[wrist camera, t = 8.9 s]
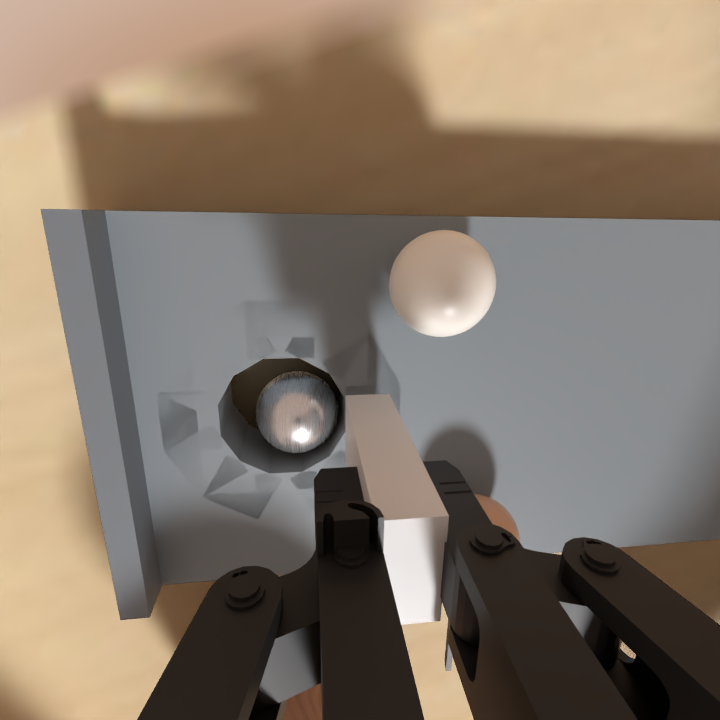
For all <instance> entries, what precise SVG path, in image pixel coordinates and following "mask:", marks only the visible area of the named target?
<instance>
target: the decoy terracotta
mask: <svg viewBox="0 0 720 720" xmlns="http://www.w3.org/2000/svg"><path fill="white" fill-rule="evenodd" d="M474 495H475V497H476V498H477V500H478V501H479V503H480V505H481V506H482V508H483V509H484V511H485V513H486V514H487V516H488V518H489V519H490V521H491V522H492V524H493V525H496V526H500V527H502V528H504V529H505V530H507V531H509V532H511V533H512V534H513V535H514V536H515V537H516V538H517V539H518V541H519V542H520V535H519V531H518V528H517V525H516V523H515V521H514V519H513V517H512V516H511V514H510V513H509V512H508V510H507V509H506V508H505V507H504V506H502V505H501V504H500V503H499V502H497V501H496V500H494V499H492V498H490V497H488V496H485V495H481V494H474Z"/></svg>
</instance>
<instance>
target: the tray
mask: <svg viewBox="0 0 720 720" xmlns="http://www.w3.org/2000/svg"><path fill="white" fill-rule="evenodd" d="M41 214H42V219H43V224H44V229H45V234H46V239H47V245H48V250H49V255H50V260H51V265H52V270H53V275H54V281H55V286H56V291H57V296H58V301H59V306H60V311H61V317H62V322H63V327H64V332H65V337H66V342H67V347H68V353H69V358H70V363H71V368H72V373H73V378H74V383H75V389H76V394H77V399H78V404H79V409H80V414H81V420H82V425H83V430H84V435H85V440H86V445H87V450H88V456H89V461H90V466H91V471H92V476H93V481H94V486H95V492H96V497H97V502H98V507H99V512H100V517H101V522H102V528H103V533H104V538H105V543H106V548H107V553H108V558H109V564H110V569H111V574H112V579H113V584H114V589H115V594H116V600H117V605H118V610H119V615H120V620H126V619H137V618H148V617H150V615H151V613H152V610H153V607H154V605H155V602H156V599H157V597H158V594H159V592H160V589H161V586H162V585H167V584H180V583H192V582H204V581H216V580H217V579H218V578H220V577H221V576H223V575H224V574H226V573H227V572H229V571H231V570H234V569H237V568H240V567H243V566H260V567H264V568H268V569H270V570H271V571H272V572H274V573H275V574H276V575H286V574H289V573H291V572H293V571H295V570H297V569H299V568H301V567H302V566H303V565H305V564H306V563H307V562H308V561H309V560H310V559H311V557H312V556H313V554H314V552H315V549H316V542H315V511H314V478H315V477H316V475H317V474H318V472H319V471H320V469H323V468H341V467H345V395H370V394H390V396H391V399H392V401H393V403H394V405H395V407H396V409H397V411H398V413H399V415H400V417H401V419H402V421H403V423H404V425H405V427H406V429H407V431H408V433H409V435H410V437H411V439H412V441H413V443H414V445H415V448H416V450H417V452H418V454H419V456H420V458H421V460H422V462H424V461H442V460H446V461H447V462H449V463H450V464H452V465H453V466H454V467H456V468H457V469H459V471H460V472H461V474H462V476H463V477H464V479H465V480H466V483H467V484H468V485H469V487H470V488H471V490H472V493H474V494H481V495H485V496H488V497H490V498H492V499H494V500H496V501H497V502H499V503H500V504H501V505H502V506H504V507H505V508H506V509H507V510H508V512H509V513H510V514H511V516H512V517H513V519H514V521H515V523H516V525H517V528H518V531H519V535H520V543H521V545H522V546H523V548H525V549H529V550H533V551H538V552H545V553H559V552H562V550H563V547H564V545H565V543H566V542H568V541H569V540H571V539H573V538H581V537H586V538H593V539H598V540H601V541H604V542H606V543H609V544H612V545H613V546H615V547H617V548H620V547H632V546H644V545H656V544H669V543H681V542H693V541H705V540H717V539H720V220H661V219H599V218H537V217H476V216H414V215H352V214H291V213H229V212H168V211H106V210H68V209H41ZM437 230H452V231H456V232H460V233H463V234H465V235H468V236H470V237H471V238H473V239H474V240H476V241H477V242H478V243H479V244H480V245H481V246H482V247H483V248H484V249H485V250H486V252H487V253H488V254H489V256H490V258H491V260H492V263H493V266H494V269H495V273H496V290H495V295H494V298H493V301H492V304H491V306H490V308H489V309H488V311H487V313H486V314H485V315H484V317H483V318H482V319H481V320H480V321H479V322H478V323H477V324H476V325H474V326H473V327H472V328H470V329H469V330H467V331H465V332H463V333H460V334H457V335H453V336H448V337H434V336H429V335H425V334H422V333H420V332H418V331H416V330H414V329H413V328H411V327H410V326H408V325H407V324H406V323H405V322H404V321H403V320H402V319H401V318H400V317H399V315H398V314H397V312H396V310H395V309H394V306H393V304H392V301H391V298H390V292H389V278H390V273H391V269H392V266H393V263H394V261H395V259H396V258H397V256H398V255H399V253H400V252H401V251H402V249H403V248H404V247H405V246H406V245H407V244H408V243H410V242H411V241H412V240H414V239H415V238H417V237H418V236H420V235H422V234H425V233H428V232H432V231H437ZM279 358H300V359H302V360H304V361H306V362H308V363H310V364H311V365H313V366H315V367H317V368H319V369H321V370H323V371H325V372H327V373H329V374H330V376H331V377H332V379H333V380H334V382H335V384H336V385H337V387H338V388H339V401H338V402H337V404H338V418H337V422H336V426H335V428H334V430H333V432H332V434H331V435H330V436H329V438H328V439H327V440H326V441H325V442H324V443H323V444H321V445H320V446H319V447H317V448H315V449H313V450H310V451H307V452H303V453H290V452H285V451H282V450H280V449H278V448H276V447H274V446H273V445H271V444H270V443H269V442H268V441H267V440H266V439H265V438H264V436H263V435H262V433H261V432H260V430H259V429H258V428H255V427H253V426H251V425H249V424H248V422H247V421H246V420H245V418H244V417H243V416H242V414H241V413H240V412H239V410H238V409H237V407H236V406H235V405H234V403H233V397H232V384H231V380H232V378H233V376H235V375H236V374H238V373H240V372H242V371H243V370H245V369H247V368H249V367H250V366H252V365H254V364H255V363H257V362H259V361H261V360H262V359H279Z"/></svg>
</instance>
